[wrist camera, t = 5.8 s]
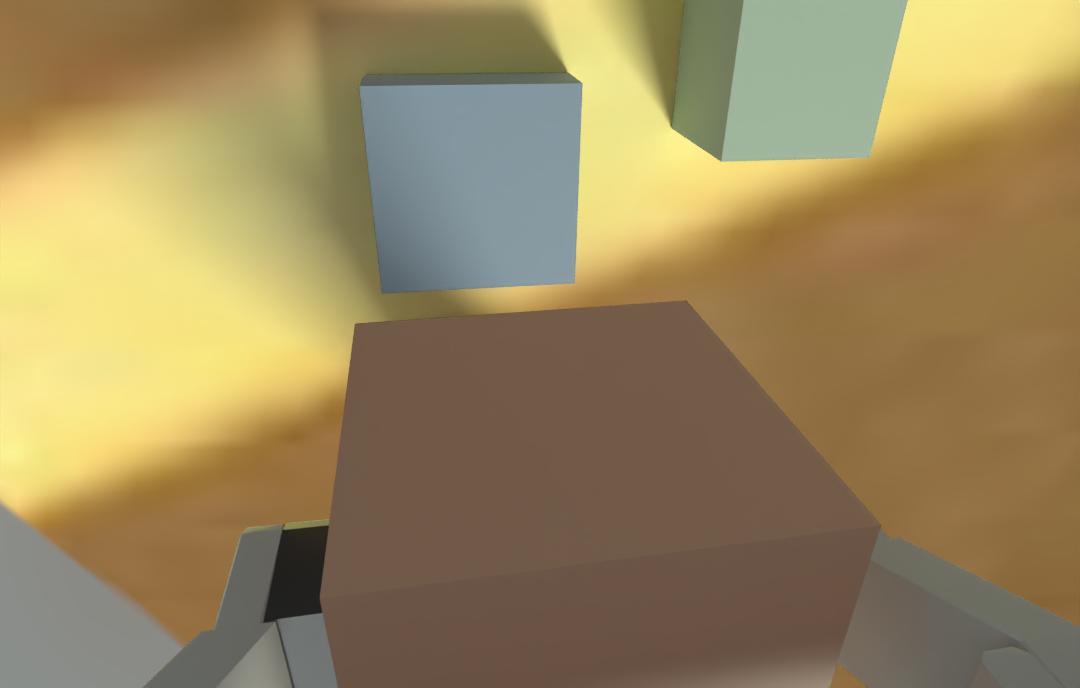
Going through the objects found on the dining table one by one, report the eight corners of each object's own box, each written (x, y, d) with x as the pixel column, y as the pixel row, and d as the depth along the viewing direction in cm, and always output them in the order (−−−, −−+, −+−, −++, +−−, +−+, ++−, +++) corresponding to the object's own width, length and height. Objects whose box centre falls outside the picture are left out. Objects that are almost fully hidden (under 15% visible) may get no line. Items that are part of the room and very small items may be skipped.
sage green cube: (823, -22, 24) (911, -18, 20) (796, 125, 26) (869, 157, 22) (686, -24, 23) (746, -20, 19) (671, 127, 26) (721, 161, 21)
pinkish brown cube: (686, 300, 11) (882, 524, 6) (657, 540, 13) (784, 823, 9) (355, 323, 10) (319, 598, 6) (388, 574, 12) (381, 904, 8)
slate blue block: (568, 72, 24) (582, 83, 22) (563, 258, 28) (574, 283, 26) (364, 74, 23) (359, 86, 21) (385, 267, 27) (381, 293, 25)
